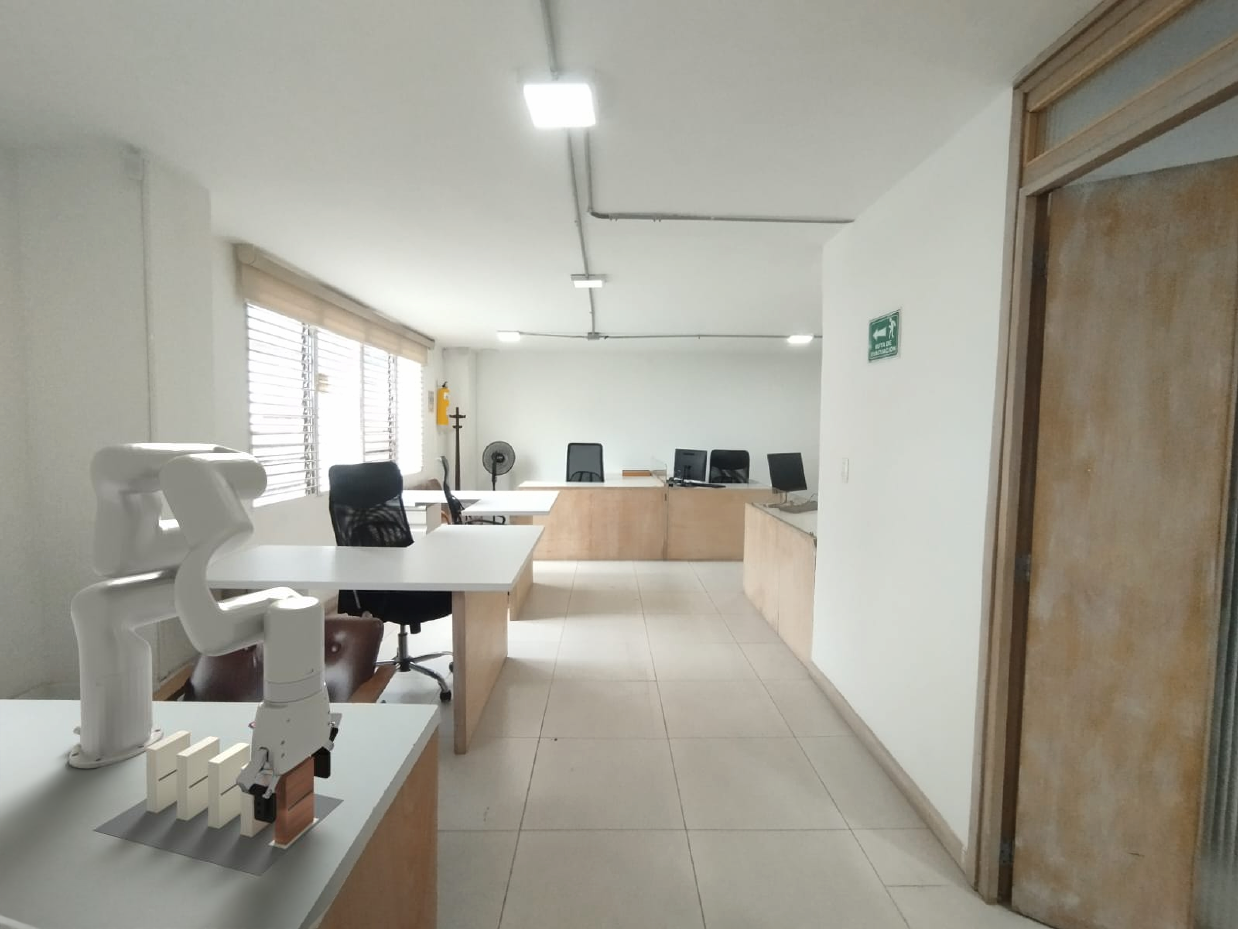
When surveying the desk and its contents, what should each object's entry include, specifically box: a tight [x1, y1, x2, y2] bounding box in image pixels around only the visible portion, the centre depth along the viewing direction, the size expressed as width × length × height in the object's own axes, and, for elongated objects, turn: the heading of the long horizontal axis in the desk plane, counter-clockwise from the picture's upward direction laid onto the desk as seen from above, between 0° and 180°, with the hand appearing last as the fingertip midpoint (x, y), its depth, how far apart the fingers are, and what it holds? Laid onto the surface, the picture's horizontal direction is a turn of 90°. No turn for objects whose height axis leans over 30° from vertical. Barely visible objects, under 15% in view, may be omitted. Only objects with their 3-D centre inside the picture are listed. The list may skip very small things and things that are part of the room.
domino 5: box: [274, 755, 315, 845], centre depth 77 cm, size 2×5×10 cm, turn 168°
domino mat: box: [92, 793, 345, 876], centre depth 80 cm, size 30×15×1 cm, turn 77°
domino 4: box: [241, 764, 274, 837], centre depth 78 cm, size 2×5×10 cm, turn 167°
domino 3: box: [208, 742, 251, 829], centre depth 79 cm, size 2×5×10 cm, turn 167°
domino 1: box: [145, 729, 191, 813], centre depth 82 cm, size 2×5×10 cm, turn 167°
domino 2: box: [177, 735, 221, 821], centre depth 81 cm, size 2×5×10 cm, turn 167°
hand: (294, 797), depth 76 cm, fingers open, 9 cm apart
